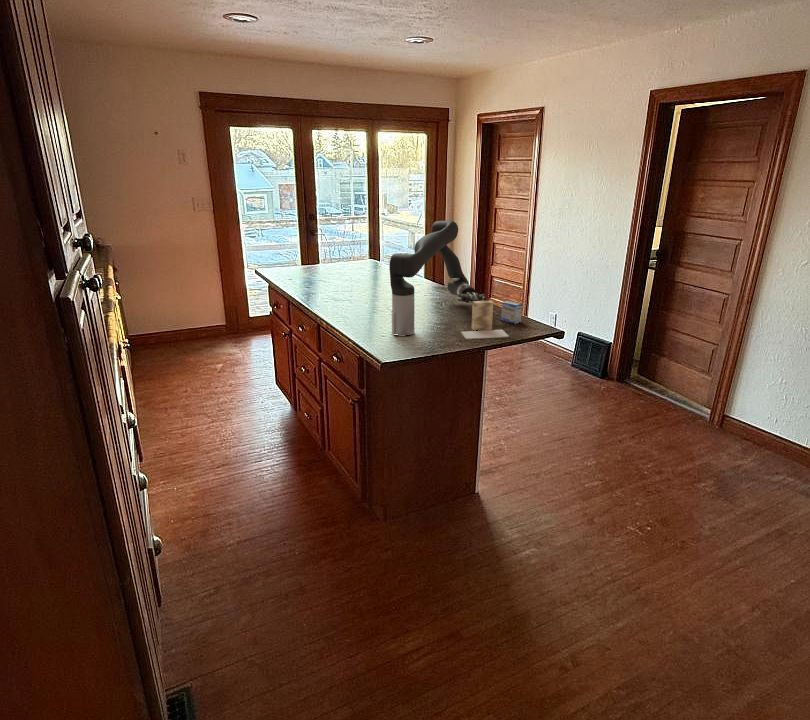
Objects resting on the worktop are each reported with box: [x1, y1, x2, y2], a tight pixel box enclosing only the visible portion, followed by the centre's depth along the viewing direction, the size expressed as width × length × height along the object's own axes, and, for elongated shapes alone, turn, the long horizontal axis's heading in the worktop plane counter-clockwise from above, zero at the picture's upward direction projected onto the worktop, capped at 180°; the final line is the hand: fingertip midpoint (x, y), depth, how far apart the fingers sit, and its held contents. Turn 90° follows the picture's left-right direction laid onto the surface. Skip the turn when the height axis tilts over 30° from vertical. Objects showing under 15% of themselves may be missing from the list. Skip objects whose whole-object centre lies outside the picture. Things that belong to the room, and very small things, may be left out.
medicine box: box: [500, 300, 523, 325], centre depth 231 cm, size 8×4×9 cm, turn 45°
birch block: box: [471, 299, 494, 331], centre depth 221 cm, size 8×4×12 cm, turn 98°
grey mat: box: [460, 329, 510, 340], centre depth 215 cm, size 18×9×1 cm, turn 98°
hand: (476, 302), depth 228 cm, fingers closed
